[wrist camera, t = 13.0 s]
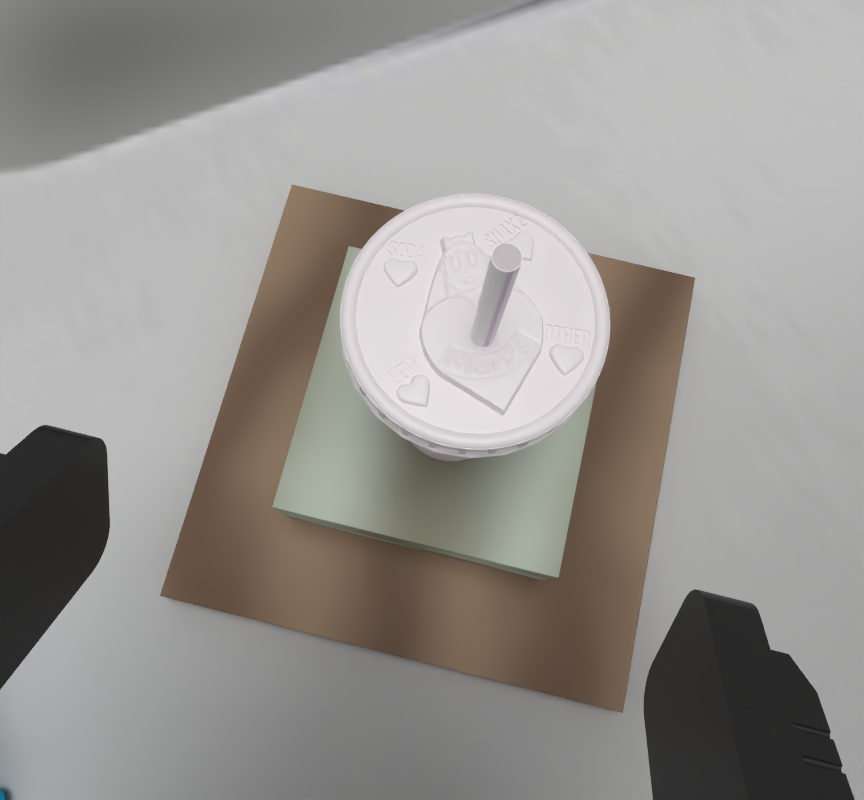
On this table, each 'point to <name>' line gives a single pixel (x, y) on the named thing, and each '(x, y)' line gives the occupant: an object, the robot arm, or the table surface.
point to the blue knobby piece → (2, 795)
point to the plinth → (414, 584)
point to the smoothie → (473, 326)
